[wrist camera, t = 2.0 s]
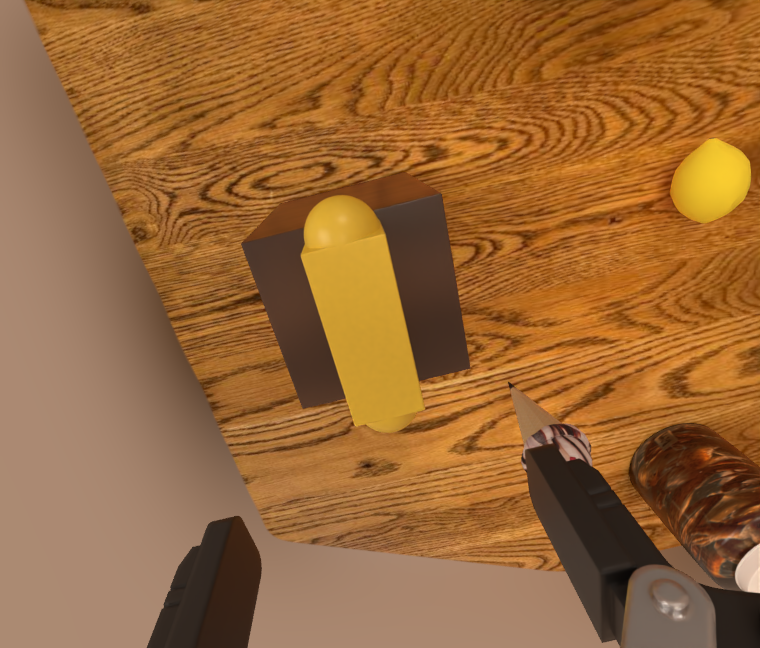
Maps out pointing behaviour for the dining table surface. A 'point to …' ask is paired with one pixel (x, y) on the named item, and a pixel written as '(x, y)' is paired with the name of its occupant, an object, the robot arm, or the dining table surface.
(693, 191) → the lemon
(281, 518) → the dining table surface
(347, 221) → the yellow ball-topped peg
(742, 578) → the jar
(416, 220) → the block
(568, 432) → the ice cream cone
